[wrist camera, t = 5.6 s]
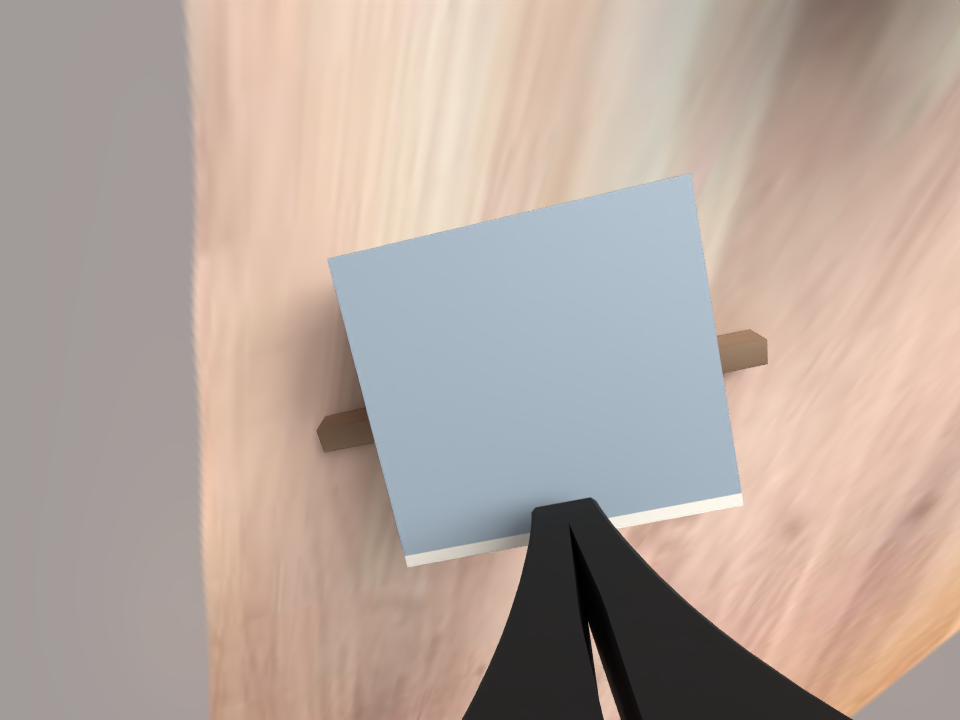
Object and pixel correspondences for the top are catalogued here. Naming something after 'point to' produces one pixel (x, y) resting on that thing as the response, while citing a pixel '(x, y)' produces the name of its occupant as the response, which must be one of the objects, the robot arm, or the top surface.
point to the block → (542, 370)
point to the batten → (357, 431)
